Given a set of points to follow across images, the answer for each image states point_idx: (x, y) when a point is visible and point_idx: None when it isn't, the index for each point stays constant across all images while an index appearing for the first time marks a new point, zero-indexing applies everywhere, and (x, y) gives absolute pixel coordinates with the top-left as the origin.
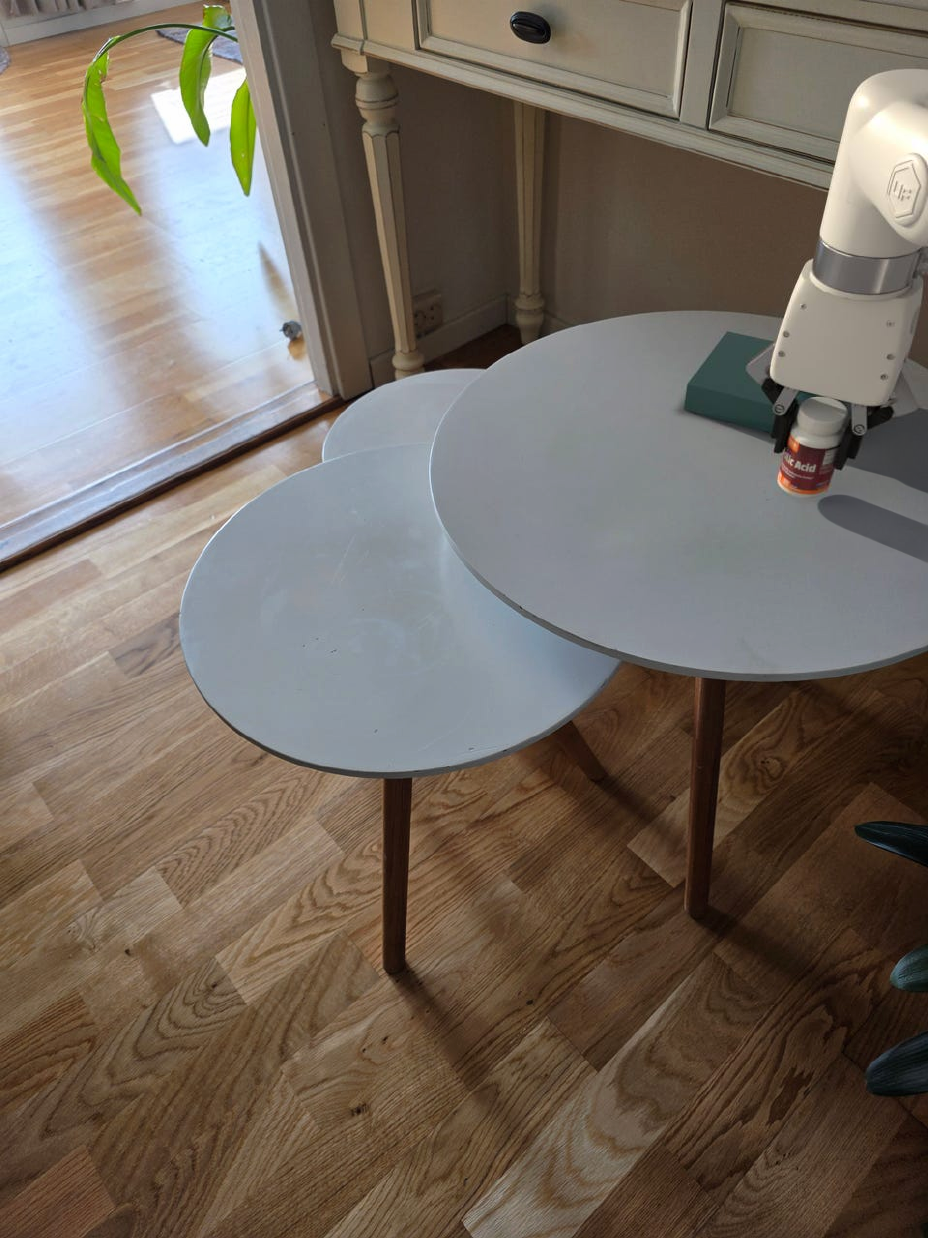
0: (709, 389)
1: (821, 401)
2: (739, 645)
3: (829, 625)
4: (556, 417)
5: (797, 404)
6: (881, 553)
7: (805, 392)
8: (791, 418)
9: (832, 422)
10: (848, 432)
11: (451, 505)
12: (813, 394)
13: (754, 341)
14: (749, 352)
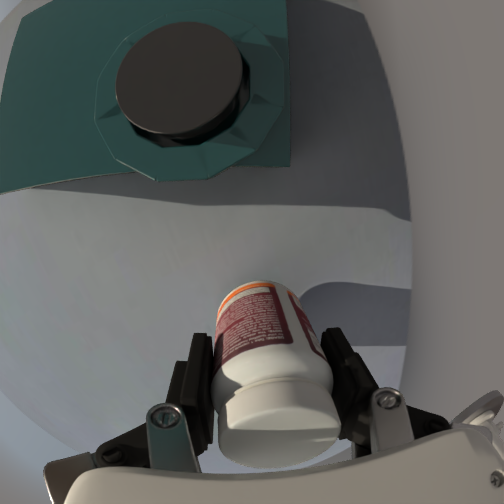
0: (20, 188)
1: (266, 427)
2: (268, 469)
3: None
4: None
5: (200, 404)
6: (372, 359)
7: (175, 139)
8: (210, 430)
9: (310, 458)
10: (343, 434)
11: (22, 410)
12: (197, 135)
13: (57, 6)
14: (51, 35)
